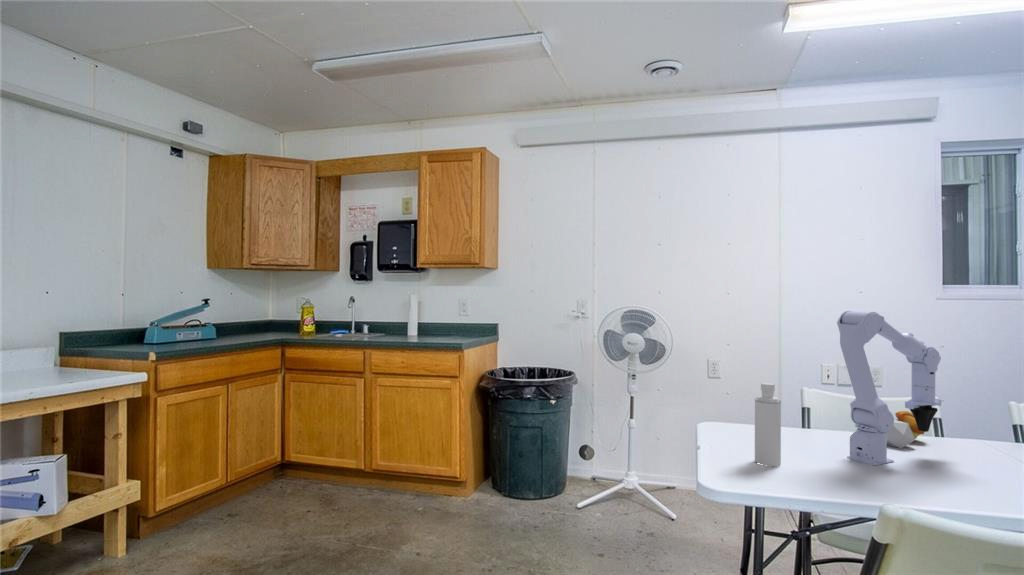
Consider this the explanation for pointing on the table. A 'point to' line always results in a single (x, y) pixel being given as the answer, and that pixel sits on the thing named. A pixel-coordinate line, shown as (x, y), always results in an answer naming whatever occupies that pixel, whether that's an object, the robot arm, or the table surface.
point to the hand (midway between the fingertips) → (923, 430)
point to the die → (900, 435)
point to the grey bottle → (768, 427)
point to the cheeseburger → (909, 422)
